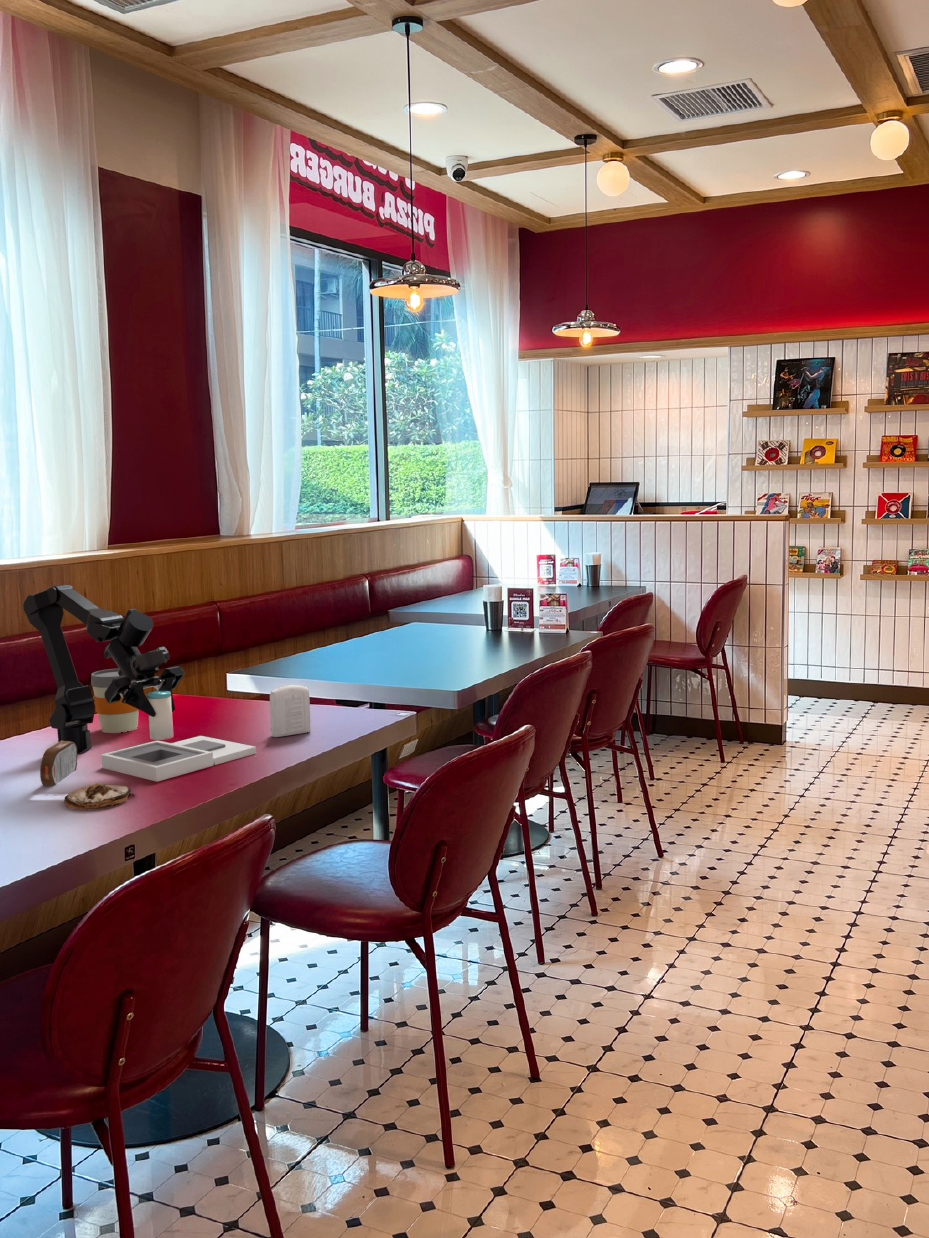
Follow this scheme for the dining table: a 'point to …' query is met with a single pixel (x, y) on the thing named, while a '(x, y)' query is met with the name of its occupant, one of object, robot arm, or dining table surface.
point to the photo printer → (290, 710)
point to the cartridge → (161, 715)
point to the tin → (58, 762)
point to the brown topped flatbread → (97, 797)
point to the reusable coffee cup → (112, 705)
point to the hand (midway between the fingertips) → (164, 713)
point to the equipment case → (174, 757)
